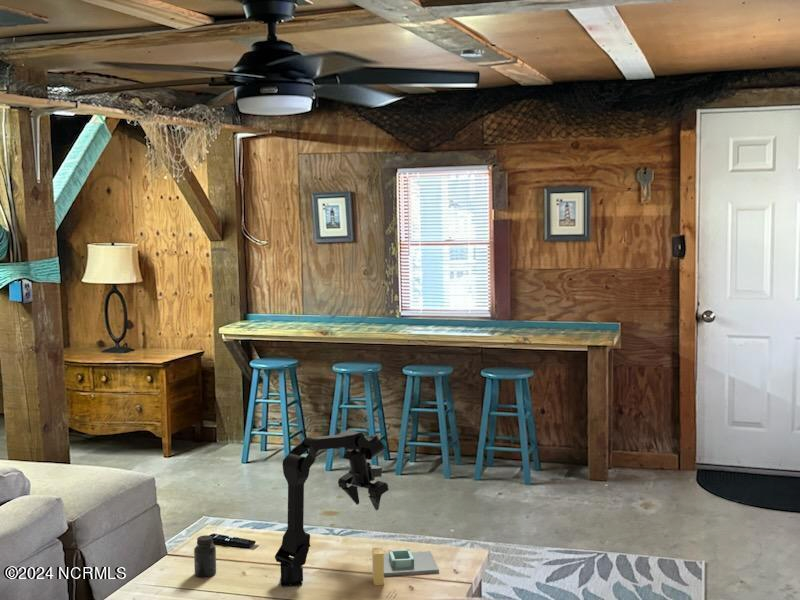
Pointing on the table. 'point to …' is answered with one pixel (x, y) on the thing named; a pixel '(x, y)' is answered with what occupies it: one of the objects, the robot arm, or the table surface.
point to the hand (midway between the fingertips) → (367, 506)
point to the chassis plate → (409, 563)
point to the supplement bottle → (205, 557)
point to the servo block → (378, 566)
